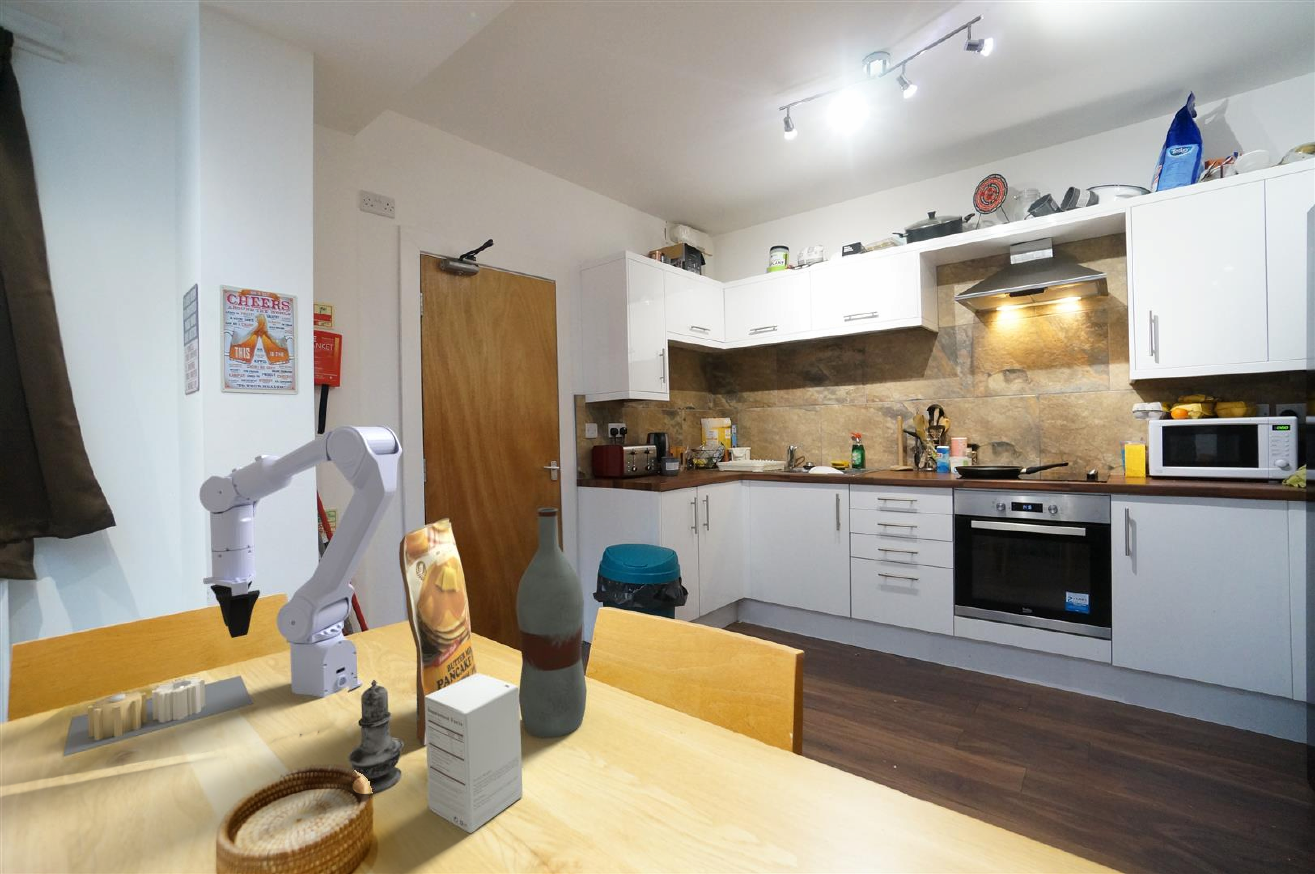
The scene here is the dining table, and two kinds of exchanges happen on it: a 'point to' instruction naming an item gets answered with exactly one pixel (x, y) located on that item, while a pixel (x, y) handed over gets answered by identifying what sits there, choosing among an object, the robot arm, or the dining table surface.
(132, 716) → the gear board
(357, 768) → the dark grey tall piece
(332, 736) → the dining table surface
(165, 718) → the gear
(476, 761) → the supplement box
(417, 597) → the pancake mix bag
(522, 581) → the bottle
